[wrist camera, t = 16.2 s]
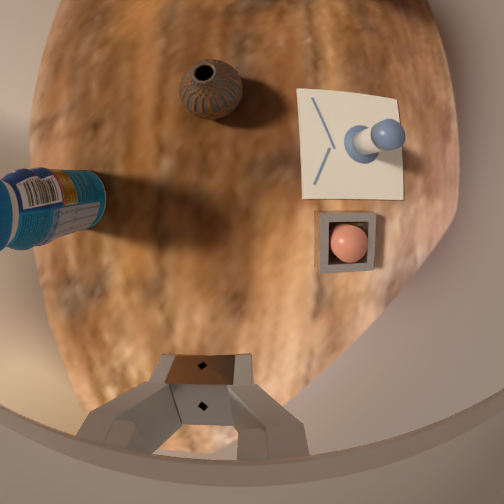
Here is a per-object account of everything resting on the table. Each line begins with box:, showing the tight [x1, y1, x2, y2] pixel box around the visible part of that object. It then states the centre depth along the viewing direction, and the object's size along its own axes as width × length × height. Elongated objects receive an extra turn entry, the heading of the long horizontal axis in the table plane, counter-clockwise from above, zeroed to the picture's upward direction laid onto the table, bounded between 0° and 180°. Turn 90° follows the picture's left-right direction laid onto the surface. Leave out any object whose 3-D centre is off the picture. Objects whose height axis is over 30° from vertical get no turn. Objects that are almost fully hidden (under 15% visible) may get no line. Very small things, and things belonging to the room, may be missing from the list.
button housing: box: [314, 211, 376, 273], centre depth 32 cm, size 7×7×3 cm
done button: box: [329, 222, 368, 263], centre depth 32 cm, size 4×4×3 cm
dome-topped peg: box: [352, 119, 405, 155], centre depth 27 cm, size 3×3×8 cm
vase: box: [180, 59, 243, 120], centre depth 26 cm, size 7×7×9 cm
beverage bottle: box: [0, 167, 106, 251], centre depth 23 cm, size 8×8×20 cm
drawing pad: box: [296, 89, 403, 200], centre depth 31 cm, size 14×14×1 cm
